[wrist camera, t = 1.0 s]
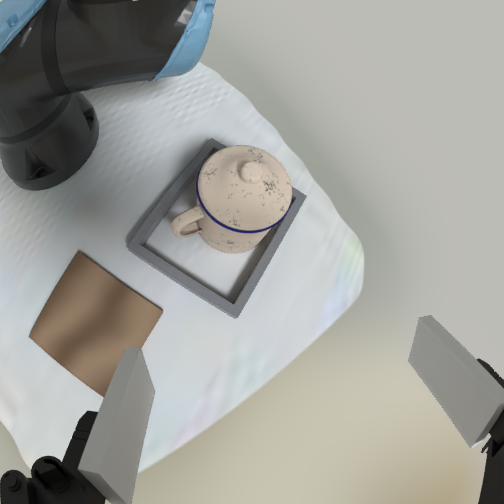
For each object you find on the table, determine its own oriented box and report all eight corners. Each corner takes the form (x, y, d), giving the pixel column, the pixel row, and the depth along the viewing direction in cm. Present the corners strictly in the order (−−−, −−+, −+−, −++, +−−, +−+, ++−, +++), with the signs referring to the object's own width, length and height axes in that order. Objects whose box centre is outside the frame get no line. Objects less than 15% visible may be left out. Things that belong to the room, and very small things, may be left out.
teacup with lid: (246, 175, 38) (271, 117, 27) (281, 236, 36) (322, 196, 25) (157, 211, 34) (149, 157, 23) (191, 281, 33) (195, 255, 22)
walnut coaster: (31, 336, 27) (28, 336, 26) (80, 252, 31) (78, 251, 30) (111, 400, 27) (109, 401, 27) (163, 311, 31) (163, 311, 31)
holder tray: (129, 250, 32) (126, 246, 30) (210, 145, 38) (211, 138, 36) (234, 318, 33) (237, 317, 31) (301, 201, 38) (306, 196, 37)
